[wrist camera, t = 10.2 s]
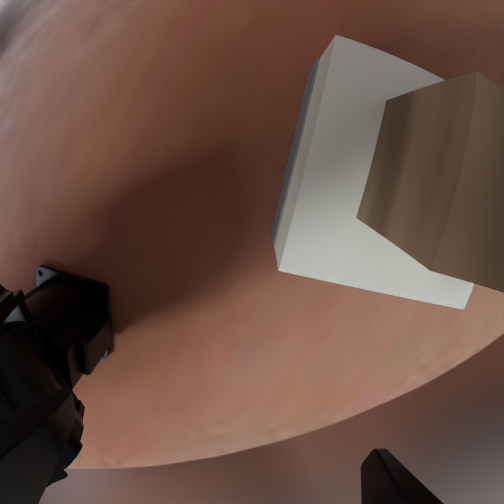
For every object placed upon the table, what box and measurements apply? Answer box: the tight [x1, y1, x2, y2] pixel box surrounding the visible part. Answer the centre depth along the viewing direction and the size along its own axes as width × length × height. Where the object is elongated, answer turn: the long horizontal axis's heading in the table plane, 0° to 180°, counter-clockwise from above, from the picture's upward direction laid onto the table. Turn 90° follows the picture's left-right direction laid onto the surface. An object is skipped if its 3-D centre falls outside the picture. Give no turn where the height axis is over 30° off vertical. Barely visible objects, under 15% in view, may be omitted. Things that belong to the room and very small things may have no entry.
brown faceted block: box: [356, 71, 504, 292], centre depth 9 cm, size 5×5×6 cm
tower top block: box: [274, 35, 474, 310], centre depth 13 cm, size 10×10×4 cm
